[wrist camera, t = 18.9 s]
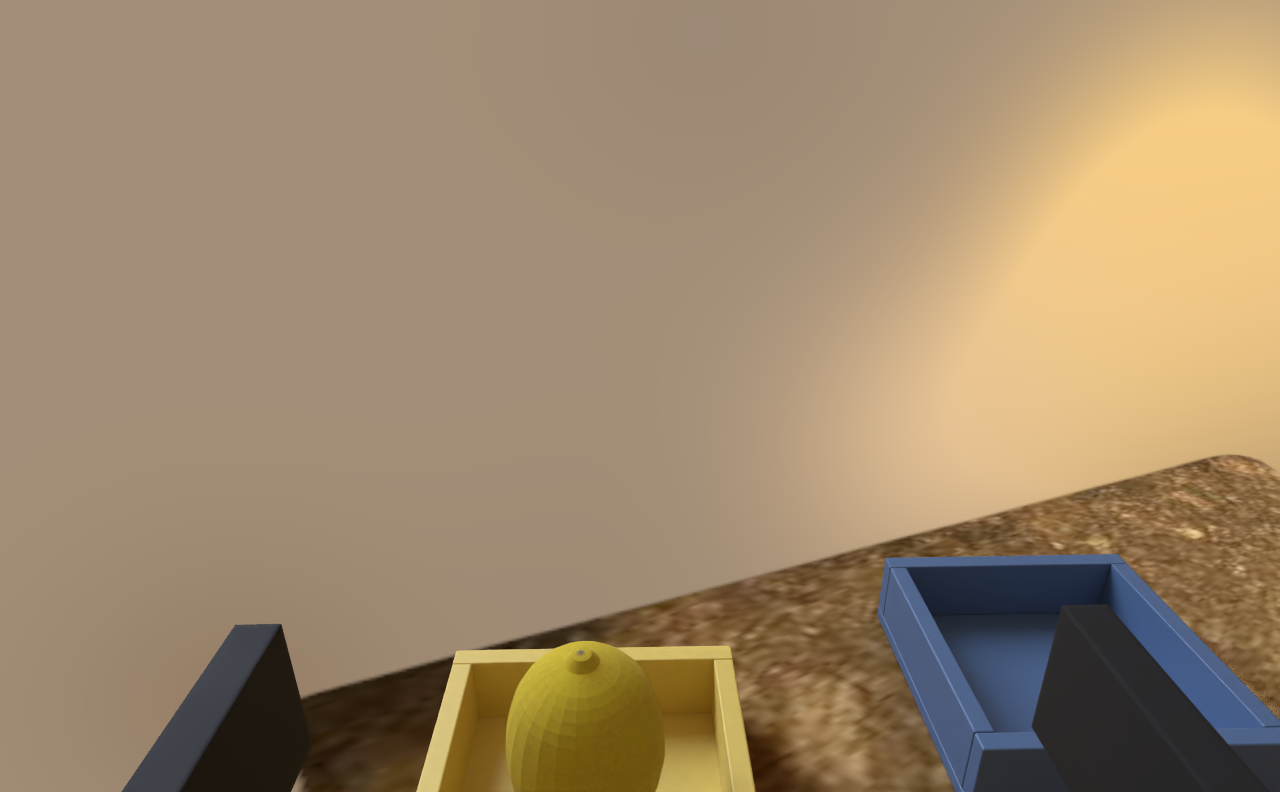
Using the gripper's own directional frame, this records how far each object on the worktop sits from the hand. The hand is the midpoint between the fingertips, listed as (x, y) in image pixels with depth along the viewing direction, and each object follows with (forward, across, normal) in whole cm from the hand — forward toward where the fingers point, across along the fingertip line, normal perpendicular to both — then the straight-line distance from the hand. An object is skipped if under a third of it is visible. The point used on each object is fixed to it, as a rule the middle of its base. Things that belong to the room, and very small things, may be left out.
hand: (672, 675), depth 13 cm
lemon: (+10, -3, -16) cm, 19 cm away
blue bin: (+16, +17, -17) cm, 29 cm away
